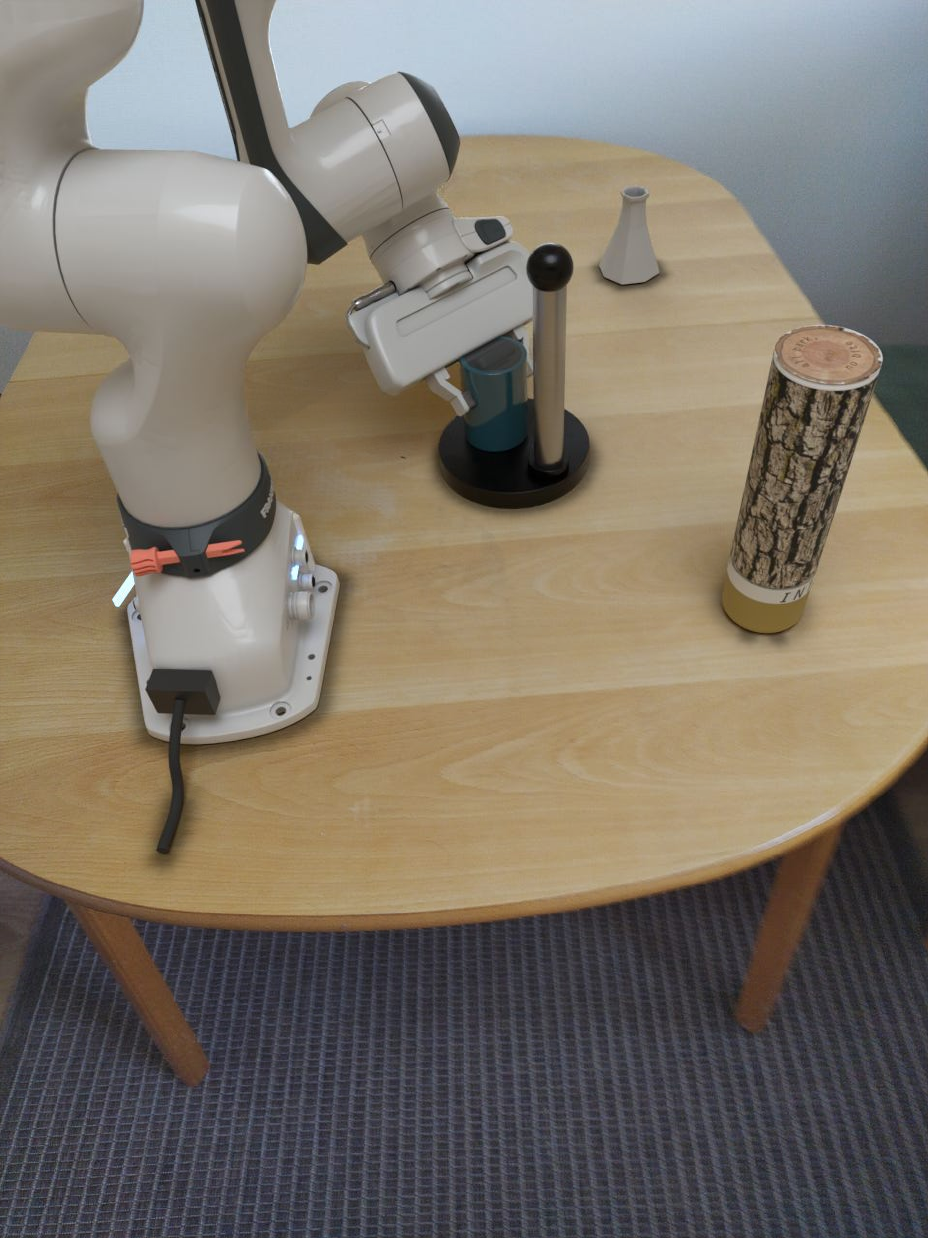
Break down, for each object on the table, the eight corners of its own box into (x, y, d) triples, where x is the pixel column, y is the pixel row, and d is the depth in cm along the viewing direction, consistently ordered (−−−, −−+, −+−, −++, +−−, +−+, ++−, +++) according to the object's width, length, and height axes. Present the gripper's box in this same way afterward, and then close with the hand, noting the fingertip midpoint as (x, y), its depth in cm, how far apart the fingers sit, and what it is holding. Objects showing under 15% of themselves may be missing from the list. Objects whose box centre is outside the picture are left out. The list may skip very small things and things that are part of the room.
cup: (533, 446, 93) (533, 368, 86) (469, 456, 93) (464, 378, 86) (521, 408, 97) (520, 330, 91) (460, 416, 97) (454, 339, 90)
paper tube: (709, 621, 80) (761, 369, 61) (733, 568, 84) (790, 316, 65) (790, 647, 77) (870, 394, 59) (811, 592, 81) (893, 337, 62)
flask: (589, 265, 119) (592, 186, 112) (638, 250, 121) (644, 171, 113) (619, 291, 115) (624, 211, 107) (669, 275, 116) (678, 195, 109)
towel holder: (410, 458, 96) (379, 227, 78) (518, 395, 102) (513, 166, 84) (508, 531, 89) (500, 293, 70) (619, 458, 94) (638, 221, 76)
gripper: (347, 293, 82) (428, 433, 84) (520, 210, 90) (590, 340, 92) (327, 319, 88) (403, 450, 90) (491, 239, 96) (557, 361, 98)
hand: (499, 394), depth 91 cm, fingers closed on cup, 6 cm apart
